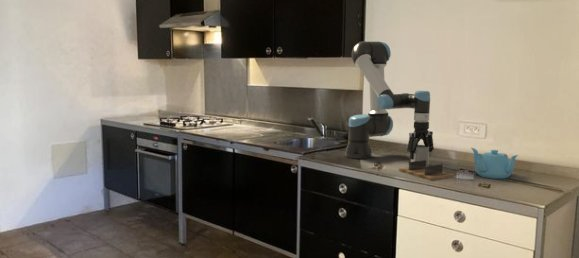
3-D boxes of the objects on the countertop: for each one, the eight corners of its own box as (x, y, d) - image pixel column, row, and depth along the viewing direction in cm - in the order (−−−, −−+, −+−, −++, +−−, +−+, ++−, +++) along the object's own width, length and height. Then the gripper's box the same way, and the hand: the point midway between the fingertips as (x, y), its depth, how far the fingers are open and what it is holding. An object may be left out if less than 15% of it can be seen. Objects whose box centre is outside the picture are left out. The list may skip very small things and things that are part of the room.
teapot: (476, 179, 223) (478, 153, 221) (469, 170, 241) (470, 146, 239) (517, 181, 220) (518, 154, 218) (506, 172, 238) (508, 147, 236)
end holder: (398, 170, 240) (399, 160, 240) (420, 168, 247) (421, 157, 246) (430, 180, 221) (430, 169, 220) (453, 177, 227) (453, 166, 227)
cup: (416, 162, 259) (416, 144, 257) (430, 165, 254) (431, 146, 252) (408, 165, 252) (409, 146, 251) (423, 167, 247) (424, 148, 246)
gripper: (410, 123, 242) (408, 168, 245) (442, 120, 251) (440, 164, 254) (400, 121, 248) (398, 165, 251) (432, 119, 258) (430, 161, 261)
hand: (419, 164), depth 253 cm, fingers closed on cup, 8 cm apart
